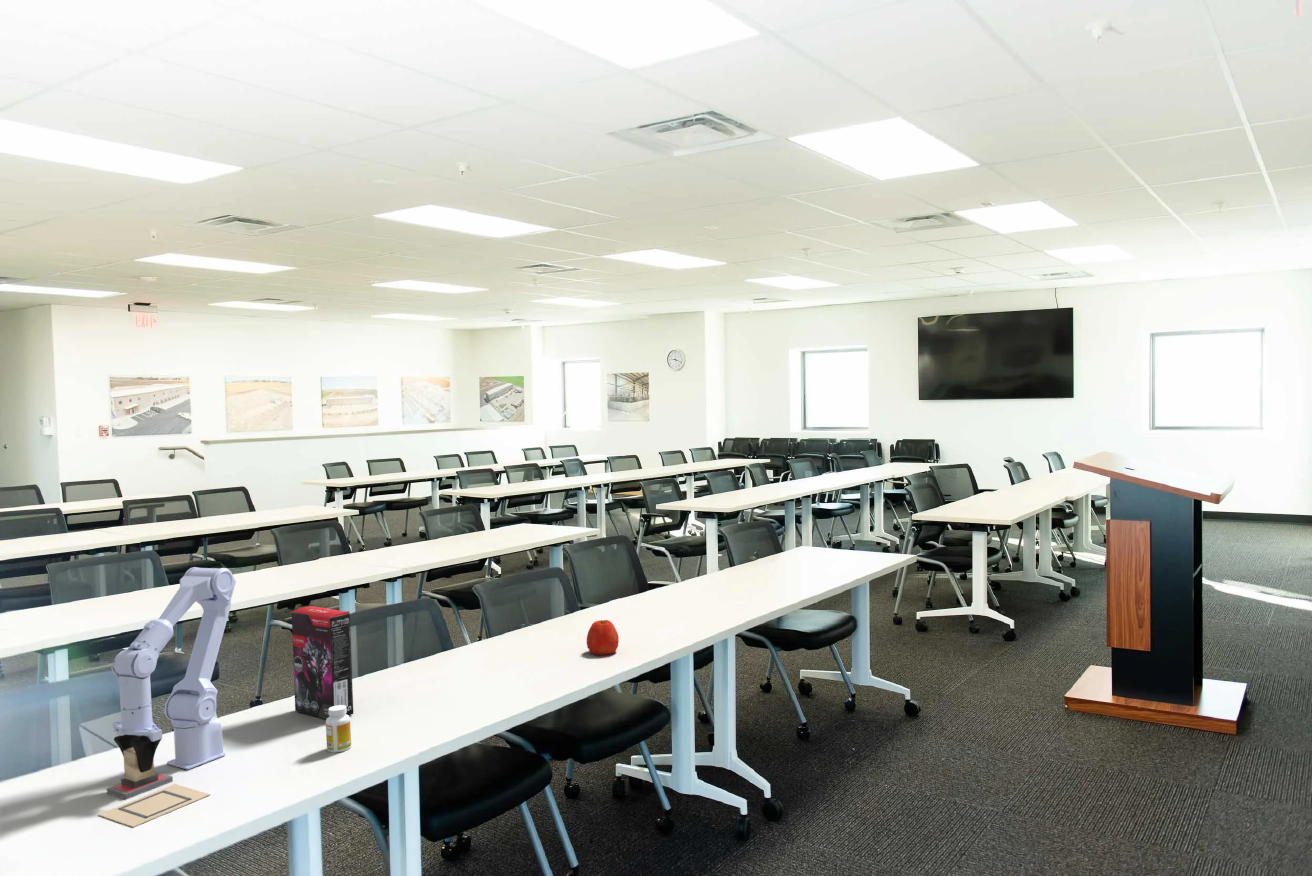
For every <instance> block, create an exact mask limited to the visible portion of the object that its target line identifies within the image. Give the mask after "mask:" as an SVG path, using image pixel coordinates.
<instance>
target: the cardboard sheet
mask: <svg viewBox="0 0 1312 876" xmlns="http://www.w3.org/2000/svg"><path fill="white" fill-rule="evenodd" d="M209 796H211V793H207V792H204V791H200V790H197V789H193V788H190V787H187V786H183V785H180V784H177V783H175V784H172V785H168V786H167V787H164V788H161V789H159V790H157V791H154V792H150V793H149V794H147V795H144V796H141V797H139V798H137V799H134V800H131V801H129V802H126V803H124V804H121V805H118V806H116V807H113V808H111V809H109V810H106V811H103V812H101V813H99V814H97V815H98V816H99V817H101V818H105V819H108V820H110V821H113V822H116V823H119V824H122V825H124V826H127V827H131V828H136V827H138V826H140V825H141V826H142V825H143V824H145V823H148V822H151V821H152V820H155V819H157V818H159V817H162V816H164V815H167V814H169V813H171V812H173V811H176V810H179V809H181V808H183V807H185V806H187V805H190V804H192V803H195V802H198V801H200V800H202V799H206V798H207V797H209Z"/></svg>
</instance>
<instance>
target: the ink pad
mask: <svg viewBox="0 0 1312 876" xmlns="http://www.w3.org/2000/svg"><path fill="white" fill-rule="evenodd" d="M154 773H155V774H158V780H157V781H154V782H151V783H149V784H146V785H144V786H141V787H138V788H136V789H134V788H131V787H128V786H125V785H121V782H120V783H118V784H115V785H112V786H110V787H107V788H106V793H107V794H108V795H113V796H115V797H118V798H121V799H124V800H128V799H130V798H131V799H132V798H133V797H136V796H138V795H141V794H143V793H146V792H149V791H151V790H154V789H156V788H159V787H161V786H163V785H167V784H169V783H171V782H173V781H174V780H173V776H172V775H168V774H165V773H161V772H158V771H155V770H154Z"/></svg>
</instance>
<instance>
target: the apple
mask: <svg viewBox="0 0 1312 876" xmlns="http://www.w3.org/2000/svg"><path fill="white" fill-rule="evenodd" d="M619 638H620V637H619V634H618V631H617V629H616V627H615V625H614V624H613V623H612V622H611V621H610V620H608V619H600V620H597V621H594V622H593V623H592V624H591V626H590V628H589V629H588V633H587V636H586V646H587V647H586V648H587V649H588V650H589V652H590V653H592V654H593V655H598V656H607V655H610V654H614V653H616V651H617V650H618V647H619V641H620V640H619Z"/></svg>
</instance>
